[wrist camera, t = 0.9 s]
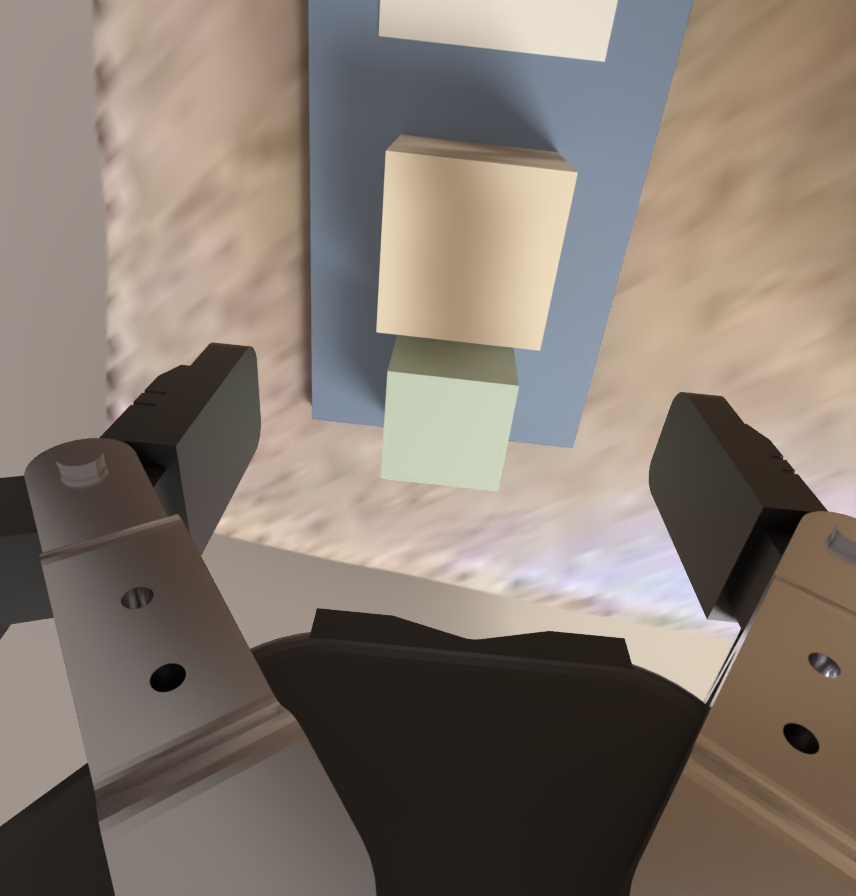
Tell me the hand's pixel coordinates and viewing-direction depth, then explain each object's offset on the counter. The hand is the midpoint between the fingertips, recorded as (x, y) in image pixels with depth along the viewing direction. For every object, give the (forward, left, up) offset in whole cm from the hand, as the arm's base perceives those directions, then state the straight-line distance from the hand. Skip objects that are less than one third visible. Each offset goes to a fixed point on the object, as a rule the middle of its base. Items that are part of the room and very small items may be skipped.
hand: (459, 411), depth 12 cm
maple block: (0, 0, -15) cm, 15 cm away
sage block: (0, +7, -15) cm, 17 cm away
